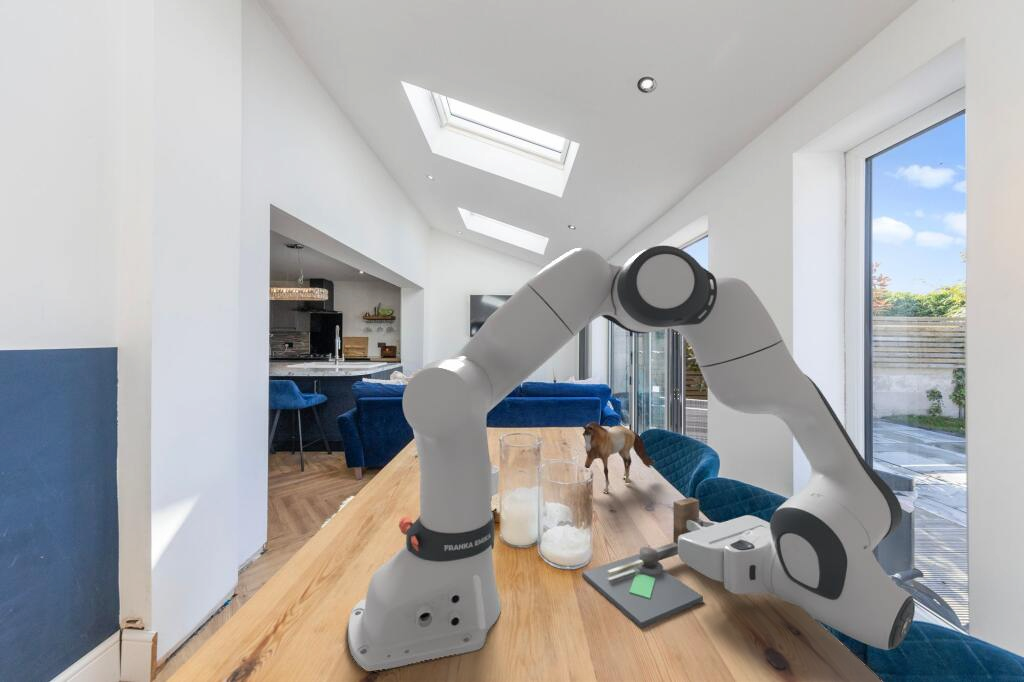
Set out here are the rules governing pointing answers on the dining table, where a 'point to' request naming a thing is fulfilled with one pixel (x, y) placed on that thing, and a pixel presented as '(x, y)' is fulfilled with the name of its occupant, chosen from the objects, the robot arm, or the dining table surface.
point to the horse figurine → (613, 447)
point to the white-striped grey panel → (642, 591)
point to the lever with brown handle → (650, 556)
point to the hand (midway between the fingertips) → (691, 522)
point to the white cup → (495, 480)
